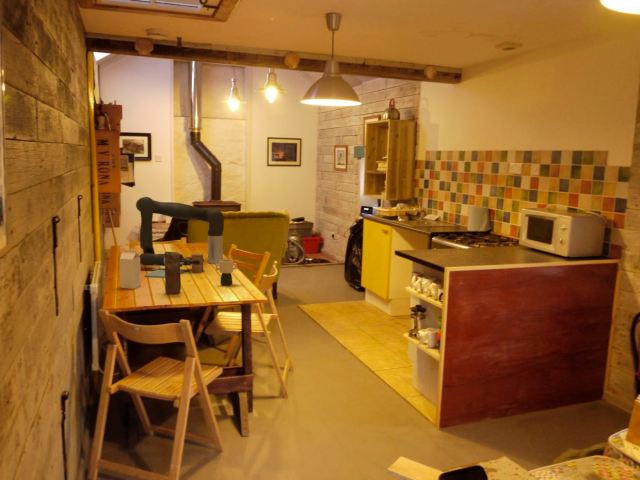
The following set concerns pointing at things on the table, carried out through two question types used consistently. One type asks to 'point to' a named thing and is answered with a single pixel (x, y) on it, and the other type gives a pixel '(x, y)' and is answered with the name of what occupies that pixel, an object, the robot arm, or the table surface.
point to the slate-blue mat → (158, 274)
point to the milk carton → (130, 269)
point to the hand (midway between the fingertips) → (201, 261)
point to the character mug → (226, 270)
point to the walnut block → (199, 267)
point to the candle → (172, 272)
